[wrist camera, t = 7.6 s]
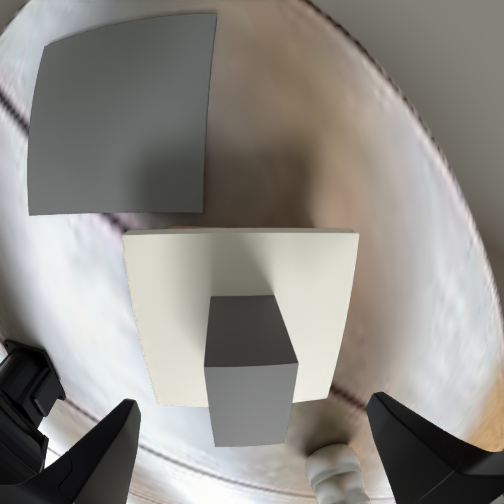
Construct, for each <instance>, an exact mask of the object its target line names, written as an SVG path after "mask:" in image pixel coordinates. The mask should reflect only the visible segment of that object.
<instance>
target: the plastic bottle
mask: <svg viewBox="0 0 504 504" xmlns="http://www.w3.org/2000/svg"><path fill="white" fill-rule="evenodd" d="M305 473H306V477H307V479H308V482H309V484H310V485H311V487H312V489H313V491H314V493H315V496H316V499H317V501H318V504H371V503H370V502H369V498H368V495H367V493H366V489H365V486H364V482H363V479H362V475H361V468H360V462H359V458H358V456H357V454H356V453H355V451H354V450H353V449H352V448H351V447H349V446H347V445H345V444H333V445H329V446H326V447H323V448H321V449H318V450H317V451H315V452H313V453H312V454H311V455H310V456H309V457H308V459H307V461H306V463H305Z"/></svg>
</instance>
